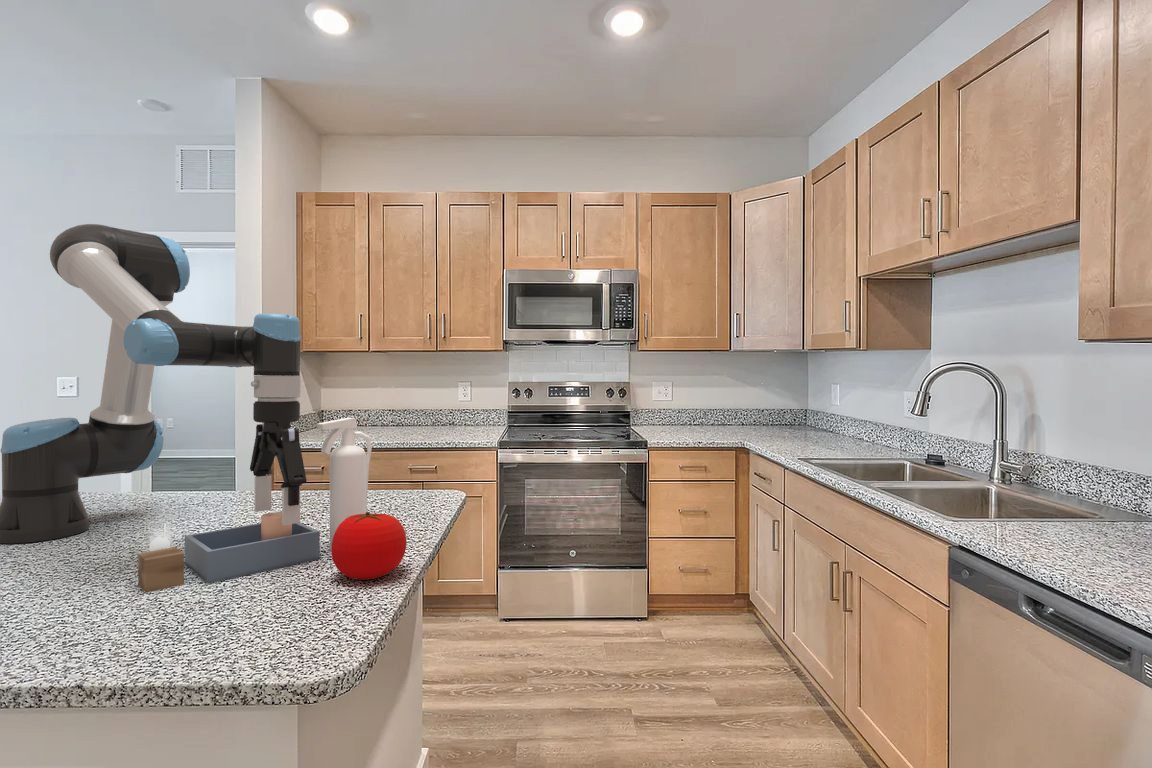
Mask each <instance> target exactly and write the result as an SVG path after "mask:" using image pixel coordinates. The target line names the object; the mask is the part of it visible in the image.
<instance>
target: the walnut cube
mask: <svg viewBox="0 0 1152 768" xmlns="http://www.w3.org/2000/svg"><path fill="white" fill-rule="evenodd" d="M137 562H138V563H137V565H138V566H137V571H138V573H137V578H138V579H137V582H138V583H137V584H139V585H138V586H139V588H140V589H142V591H143V590H144V591H145V592H147V593H151V592H154V591H155V592H157V591H160V590H164V589H168V588H174V587H178V586H182V585H185V552H183V551H182V550H181V549H179V548H178V547H177V546H173V547H167V548H161V549H156V550H150V551H144V552H139V553H137ZM144 591H143V592H144ZM150 591H151V592H150ZM145 592H144V593H145Z"/></svg>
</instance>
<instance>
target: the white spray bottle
mask: <svg viewBox="0 0 1152 768" xmlns="http://www.w3.org/2000/svg"><path fill="white" fill-rule="evenodd" d="M354 428H358V423H357V420H356V418H355V417H346V418H339V419H334V420H333V419H332V420H328V421H324V422H318V423H316V430H324V431H325V430H332V431H330V432H329V434H328V435H327V436H326V438H325V439H324V441H323V442H322V446H321V448H320V449H321V450H320V452H321V453H322V454H324V455H329V551H330V552H331V548H332V540H333V536H334V534H335V531H336V529H337V528H338V526H339V525H340V523H342V522H343V521H344V520H345V519H346V518H348V517H351V516H353V515H356V514H366V512H369V510H368V505H367V504H368V491H369V490H368V488H369V470H370V462H371V461H370V460H371V456H372V450H373V448H372V443H371V436H369V435H368V434H366V433H365V432H362V431H360V430H359V431H355V430H354ZM340 435H341V441H340V445H339V446H337V447H335V448H333V447H332V446H333V445H334V443H335V442H336V441H337V439H338V438H339V436H340ZM356 437H360V438H362V439H363V440H365V441H366V451H365V449H364V448H363V447H361V446H359V445H356ZM332 448H333V449H332ZM331 450H332V451H331Z"/></svg>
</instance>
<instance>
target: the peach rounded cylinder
mask: <svg viewBox="0 0 1152 768" xmlns="http://www.w3.org/2000/svg"><path fill="white" fill-rule="evenodd" d="M260 523H261V541H263V540H269V539H274V538H280V537H285V536H291V535H292V524H289V525H282V511H274V512H269V513H264V514H262V515H261V517H260Z"/></svg>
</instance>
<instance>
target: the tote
mask: <svg viewBox="0 0 1152 768" xmlns="http://www.w3.org/2000/svg"><path fill="white" fill-rule="evenodd" d="M320 536H321V532H320V531H319V530H318V529H315V528H313V527H311V526H308V525H306V524H304V523H301V522H300V523H295V524H292V535H291V536H285V537H280V538H274V539H269V540H263V541H261V522H259V523H253V524H248V525H242V526H237V527H230V528H223V529H218V530H211V531H205V532H200V533H198V532H197V533H193V534H186V535H184V566H186V567H187V568H189V569H190V570H191V571H192V572H194V573H195V574H196V575H197V576H198V577H200V578H201V580H203V581H204V582H206V584H211V583H212V584H213V583H217V582H220V581H226V580H230V579H234V578H240V577H244V576H249V575H253V574H254V575H255V574H257V573H261V572H262V573H263V572H267V571H273V570H276V569H280V568H281V569H282V568H285V567H290V566H294V565H295V566H296V565H298V564H304V563H308V562H309V563H310V562H312V561H317V560H320V559H321V557H320V555H321V553H320V552H321V551H320V550H321V549H320V548H321V545H320V544H321V541H320V540H321V539H320Z"/></svg>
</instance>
